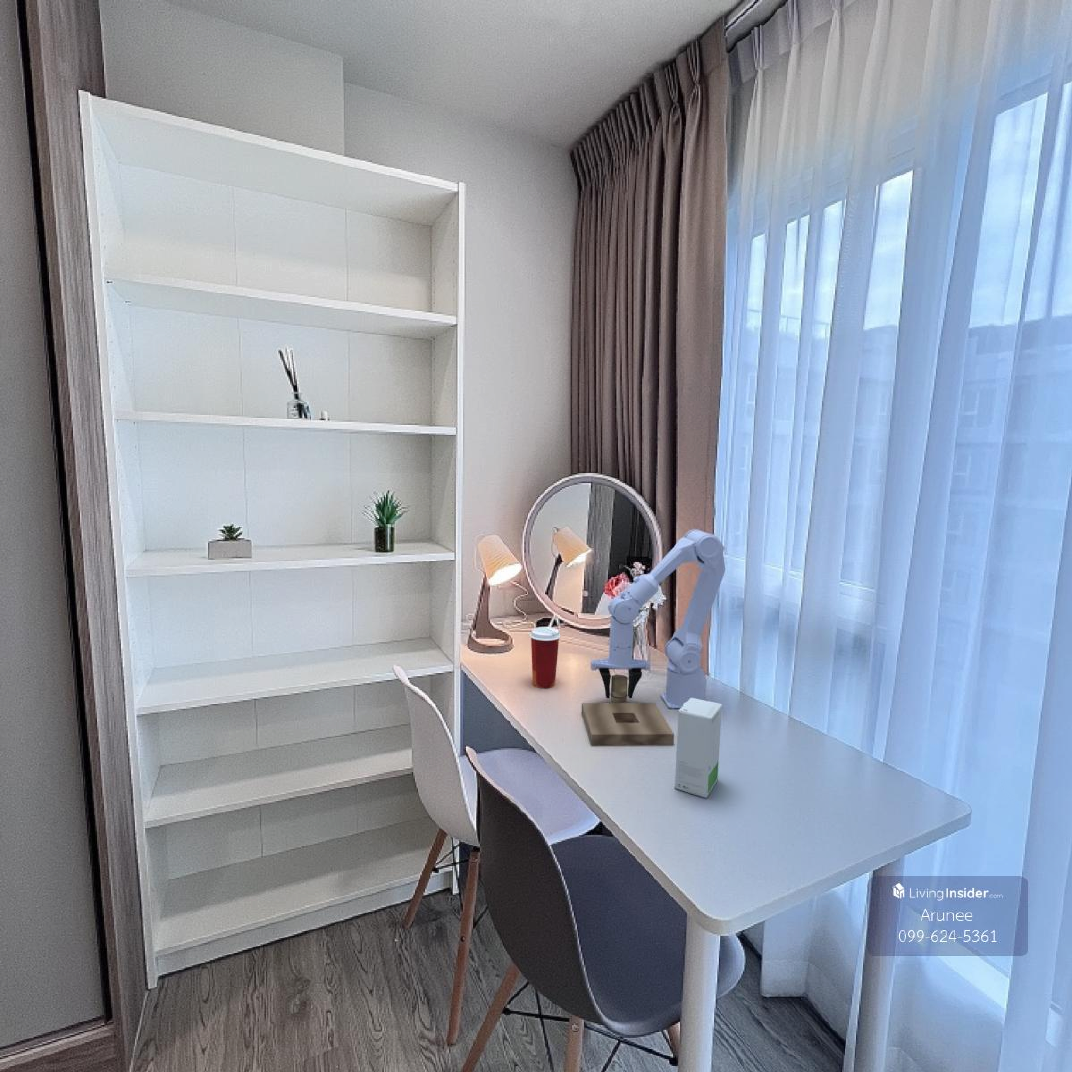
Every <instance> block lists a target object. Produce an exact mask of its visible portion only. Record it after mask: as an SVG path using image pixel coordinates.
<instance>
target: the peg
mask: <svg viewBox="0 0 1072 1072" xmlns="http://www.w3.org/2000/svg"><path fill="white" fill-rule="evenodd" d="M628 683H629V677H627V676H626V675H624V674H614V675H611V680H610V702H611V703H628V702H627V699H628V698H627V697H628Z"/></svg>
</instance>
